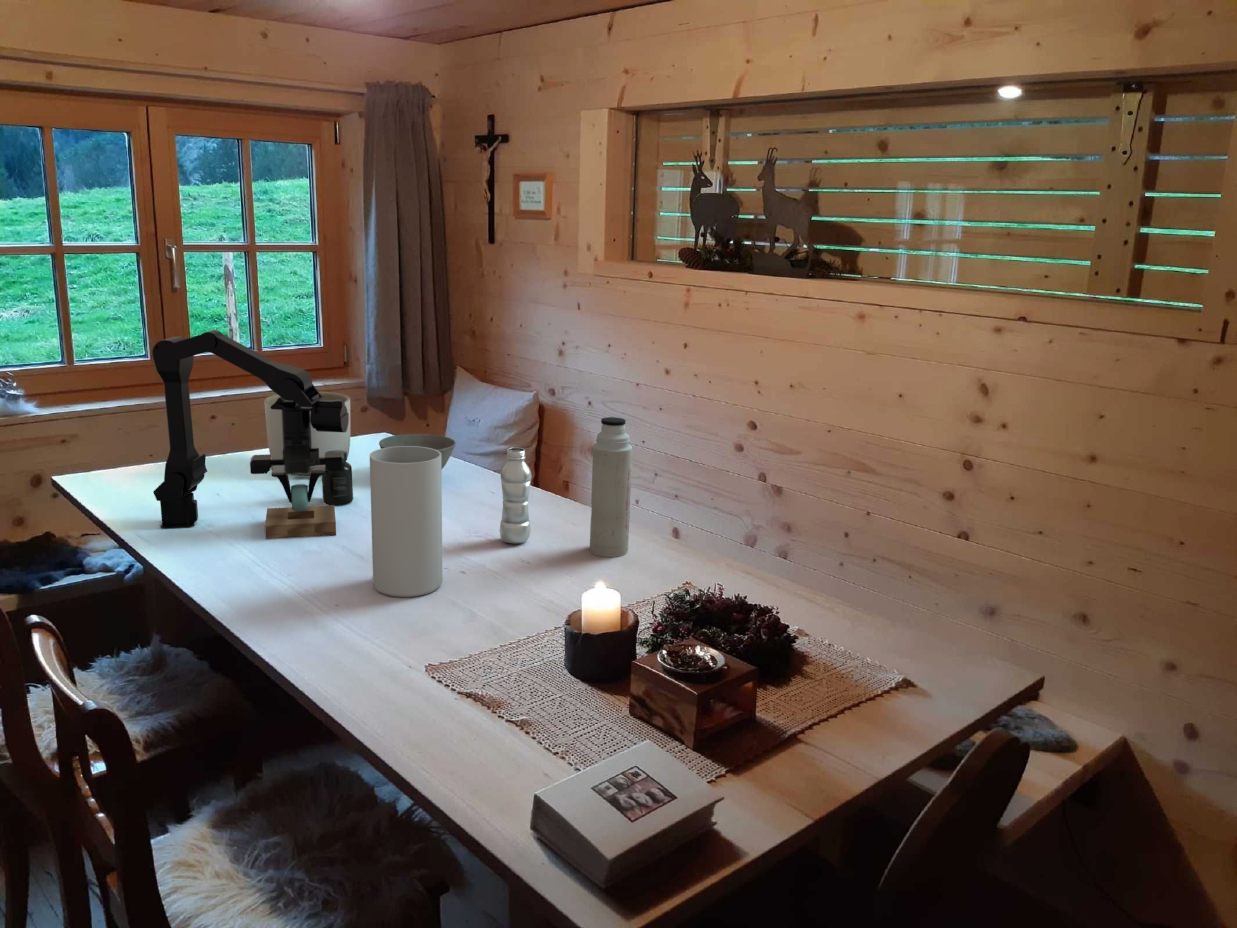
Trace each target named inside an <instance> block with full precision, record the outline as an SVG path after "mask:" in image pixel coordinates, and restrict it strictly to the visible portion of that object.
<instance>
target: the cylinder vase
mask: <svg viewBox="0 0 1237 928" xmlns="http://www.w3.org/2000/svg"><path fill="white" fill-rule="evenodd" d="M442 470H443V469H442V467H441V452H439V451H438V450H435V449H432V448H427V447H418V446H397V447H388V448H382V449H381V448H379V449H376V450H373V451H372V452H370V454H369V479H370V483H369V484H370V513H371V514H370V515H371V516H370V517H371V518H370V519H371V520H370V522H371V552H372V553H371V555H372V557H371V559H372V581H373V582H372V584H373V587H374V589H376V591H378V592H379V593H381V594H383V595H386V596H390V597H396V598H397V597H398V598H410V597H411V598H413V597H420V596H425V595H427V594H431V593H433V592H435V591H436V590H438V589H439V588H440V587H441V586H442V584H443V502H442V500H443V496H442V495H443V492H442V490H443V489H442V488H443V487H442V485H443V484H442V483H443V482H442V477H443V476H442V475H443V474H442Z"/></svg>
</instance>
